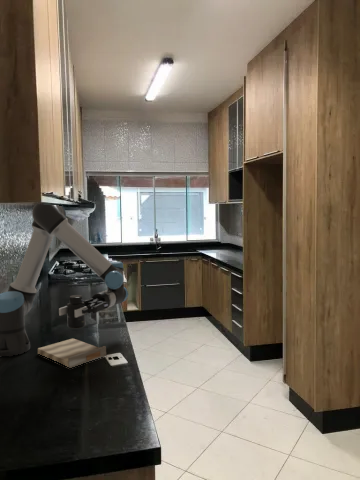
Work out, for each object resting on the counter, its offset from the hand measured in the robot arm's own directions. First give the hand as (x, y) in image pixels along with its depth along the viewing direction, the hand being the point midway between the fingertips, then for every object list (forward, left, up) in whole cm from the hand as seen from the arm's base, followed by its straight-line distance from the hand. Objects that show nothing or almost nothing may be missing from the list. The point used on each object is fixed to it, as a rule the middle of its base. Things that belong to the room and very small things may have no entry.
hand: (67, 312), depth 146 cm
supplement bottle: (-1, +5, -7) cm, 8 cm away
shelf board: (-3, +3, -18) cm, 19 cm away
